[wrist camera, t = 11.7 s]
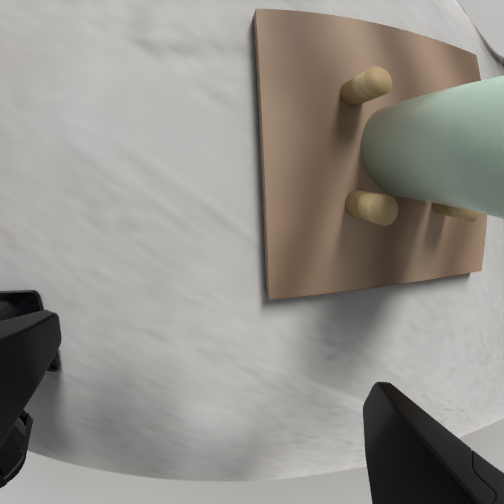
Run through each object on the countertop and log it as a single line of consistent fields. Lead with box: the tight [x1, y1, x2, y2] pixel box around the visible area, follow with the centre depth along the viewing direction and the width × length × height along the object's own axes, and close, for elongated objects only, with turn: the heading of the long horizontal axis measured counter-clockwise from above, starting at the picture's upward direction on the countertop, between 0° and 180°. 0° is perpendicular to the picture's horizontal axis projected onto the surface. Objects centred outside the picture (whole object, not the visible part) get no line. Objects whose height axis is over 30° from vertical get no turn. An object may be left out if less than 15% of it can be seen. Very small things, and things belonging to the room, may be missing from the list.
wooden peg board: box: [253, 9, 487, 300], centre depth 17 cm, size 18×18×5 cm
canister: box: [361, 76, 504, 219], centre depth 12 cm, size 6×6×13 cm
